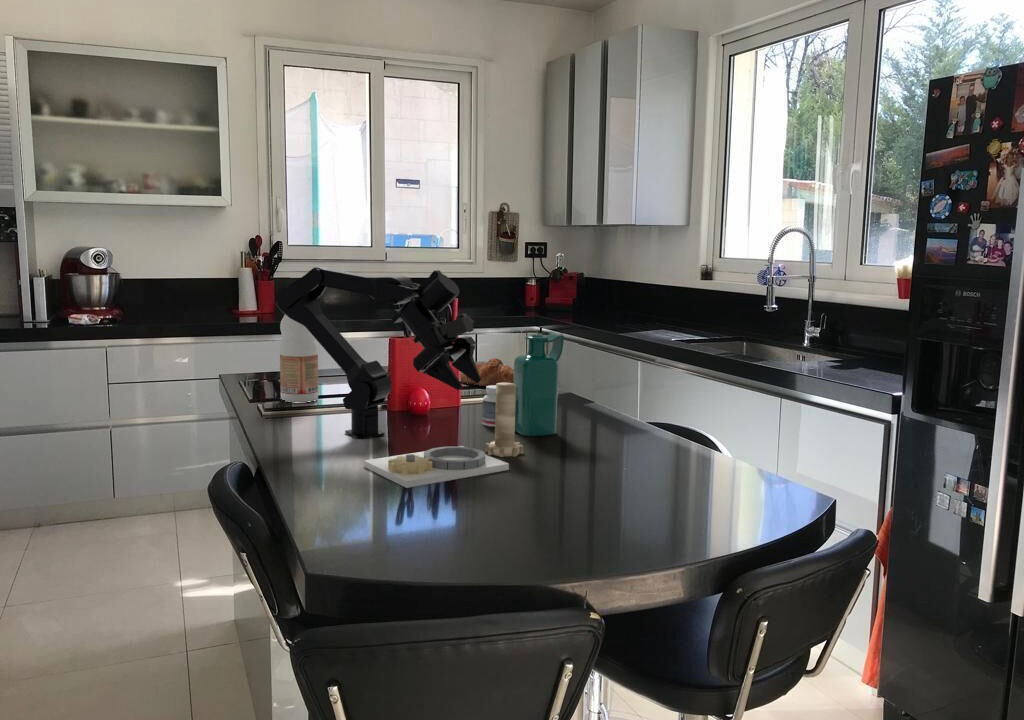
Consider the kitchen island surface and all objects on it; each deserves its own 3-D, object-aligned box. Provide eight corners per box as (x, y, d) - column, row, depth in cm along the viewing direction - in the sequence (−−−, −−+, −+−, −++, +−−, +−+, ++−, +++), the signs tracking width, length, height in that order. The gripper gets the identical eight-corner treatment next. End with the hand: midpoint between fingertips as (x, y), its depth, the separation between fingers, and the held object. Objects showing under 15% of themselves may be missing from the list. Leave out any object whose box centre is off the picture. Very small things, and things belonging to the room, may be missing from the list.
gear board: (363, 466, 165) (363, 447, 164) (461, 451, 178) (462, 433, 177) (406, 487, 152) (406, 467, 151) (508, 469, 165) (509, 450, 164)
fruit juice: (280, 404, 219) (278, 292, 215) (280, 397, 228) (279, 289, 224) (318, 403, 222) (318, 292, 217) (317, 396, 231) (316, 290, 226)
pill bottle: (502, 427, 200) (503, 389, 198) (480, 426, 201) (480, 388, 200) (507, 422, 205) (508, 385, 204) (485, 421, 206) (486, 384, 205)
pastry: (472, 391, 245) (472, 363, 243) (455, 382, 259) (456, 355, 258) (528, 388, 251) (529, 361, 249) (508, 380, 265) (509, 353, 264)
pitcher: (523, 437, 191) (526, 337, 188) (509, 429, 199) (511, 332, 195) (564, 434, 194) (567, 336, 191) (549, 426, 202) (552, 331, 199)
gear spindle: (478, 450, 178) (480, 383, 176) (508, 446, 183) (509, 380, 181) (500, 458, 173) (501, 388, 170) (530, 453, 177) (532, 385, 175)
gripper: (429, 304, 170) (478, 367, 167) (469, 298, 187) (514, 355, 185) (392, 340, 174) (439, 402, 172) (435, 331, 191) (478, 387, 189)
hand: (470, 385), depth 179 cm, fingers open, 9 cm apart
